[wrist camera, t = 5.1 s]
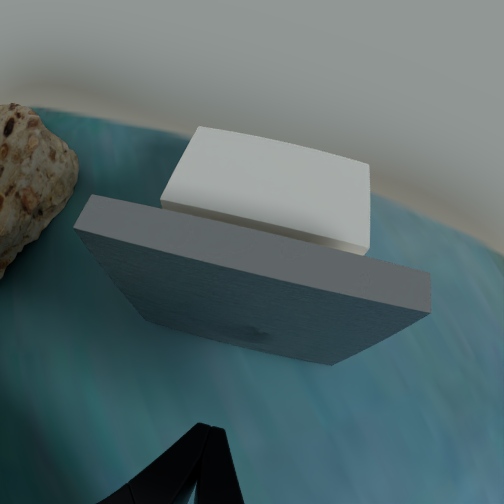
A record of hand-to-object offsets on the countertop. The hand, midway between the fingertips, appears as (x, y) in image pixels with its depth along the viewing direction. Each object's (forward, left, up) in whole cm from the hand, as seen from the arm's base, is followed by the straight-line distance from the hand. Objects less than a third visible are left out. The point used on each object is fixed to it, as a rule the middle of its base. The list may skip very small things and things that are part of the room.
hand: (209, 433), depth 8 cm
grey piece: (+3, +8, -6) cm, 11 cm away
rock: (-20, +16, -7) cm, 26 cm away
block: (+4, +9, -6) cm, 11 cm away
